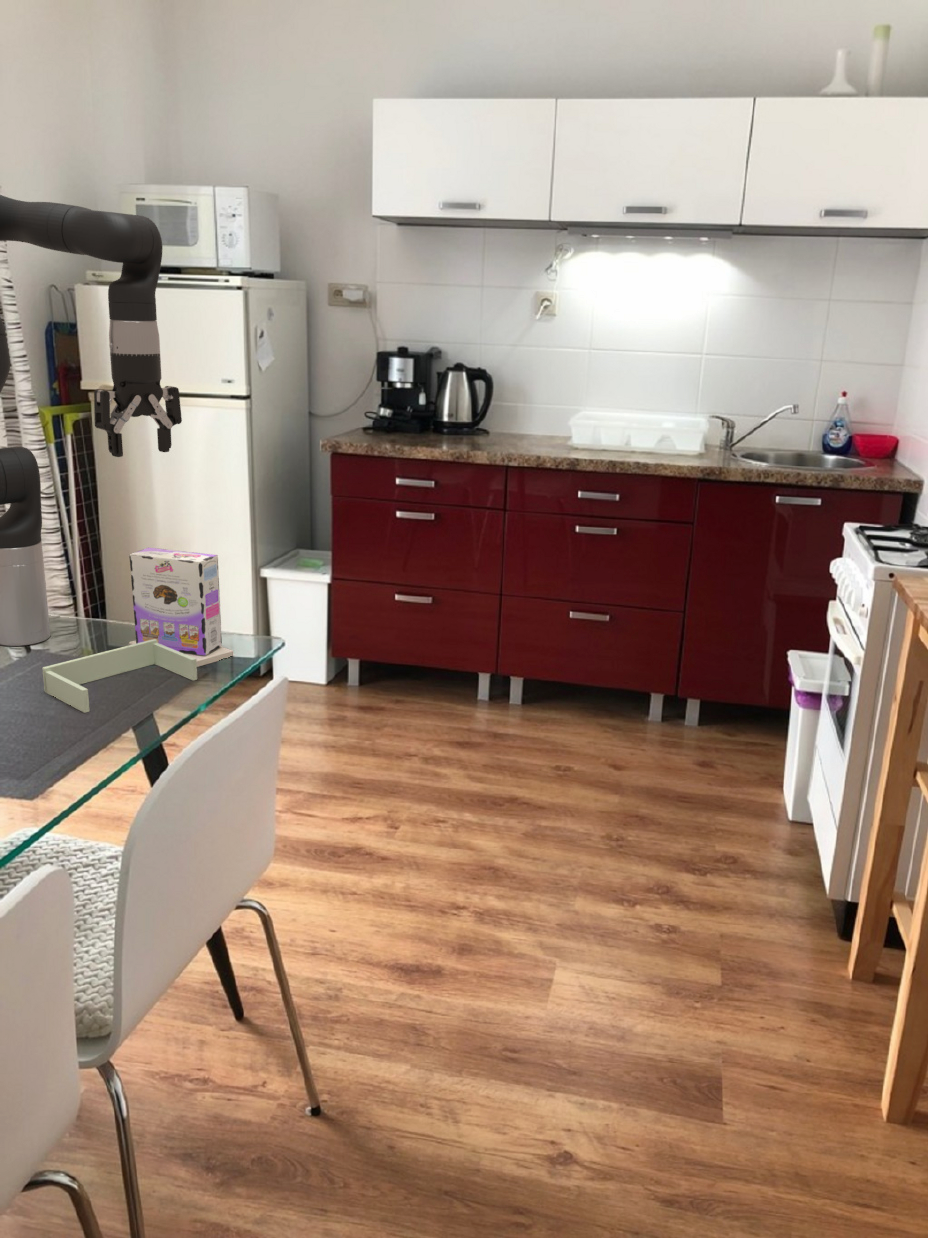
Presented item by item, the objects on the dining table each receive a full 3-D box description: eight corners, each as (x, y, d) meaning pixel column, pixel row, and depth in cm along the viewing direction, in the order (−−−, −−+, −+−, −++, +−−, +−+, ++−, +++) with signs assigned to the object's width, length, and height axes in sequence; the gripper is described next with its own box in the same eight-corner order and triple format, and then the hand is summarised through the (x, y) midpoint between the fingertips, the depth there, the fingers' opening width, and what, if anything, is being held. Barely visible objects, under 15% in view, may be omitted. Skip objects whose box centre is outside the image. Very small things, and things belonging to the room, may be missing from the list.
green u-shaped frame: (44, 692, 160) (42, 667, 159) (156, 661, 174) (154, 638, 173) (84, 712, 153) (82, 687, 152) (197, 679, 167) (196, 655, 166)
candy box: (223, 646, 179) (219, 553, 174) (205, 657, 174) (200, 561, 169) (154, 636, 183) (148, 545, 178) (134, 646, 178) (127, 552, 173)
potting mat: (129, 647, 180) (128, 642, 180) (178, 634, 188) (178, 629, 187) (183, 670, 170) (183, 665, 170) (233, 656, 178) (233, 651, 177)
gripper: (107, 353, 156) (114, 461, 161) (187, 350, 166) (192, 452, 171) (80, 349, 160) (88, 455, 165) (160, 347, 171) (165, 447, 176)
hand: (141, 453), depth 168 cm, fingers open, 8 cm apart
